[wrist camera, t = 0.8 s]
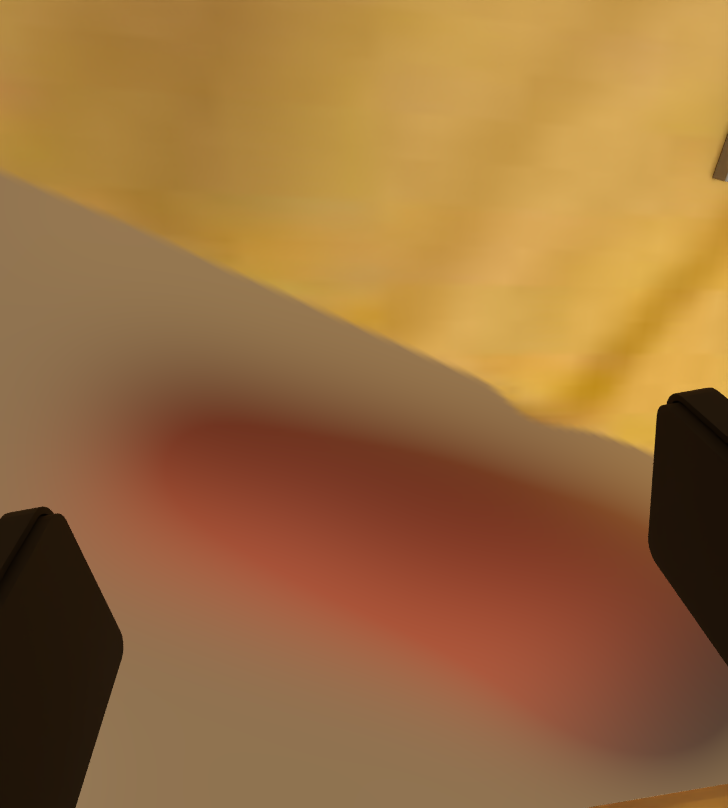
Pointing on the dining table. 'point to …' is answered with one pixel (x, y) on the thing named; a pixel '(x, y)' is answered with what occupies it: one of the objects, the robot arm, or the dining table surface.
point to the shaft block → (722, 164)
